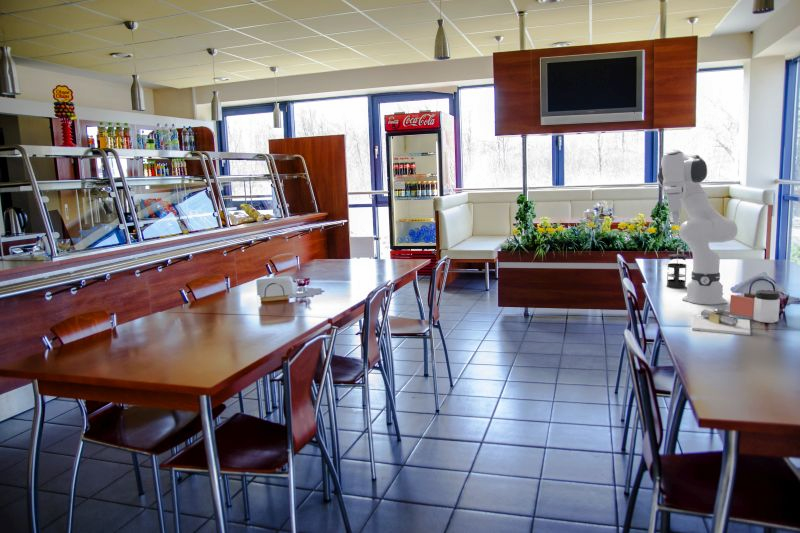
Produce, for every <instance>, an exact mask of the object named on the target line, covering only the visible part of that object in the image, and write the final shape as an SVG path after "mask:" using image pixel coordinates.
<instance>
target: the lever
mask: <svg viewBox="0 0 800 533" xmlns="http://www.w3.org/2000/svg"><path fill="white" fill-rule="evenodd" d="M729 300H730V301H729V302H730V303H729V311H728V310H725V309H723V308H714V309H713V312H714V313H718V314H727V315H729V316H731V317H735V318H740V319H745V320H749V321H750V320H754V319H753V317H754V316H753V315H754V300H755V298H753V297H748V296H747V297H746V296H740V295H735V294H731V295H730V299H729Z"/></svg>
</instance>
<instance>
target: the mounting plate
mask: <svg viewBox="0 0 800 533" xmlns="http://www.w3.org/2000/svg"><path fill="white" fill-rule="evenodd" d="M737 319H738V323H737V325H735V326H733V325H729V324H726V323H721V324H718V323H714V322H711V321H709V319H708V318H705V317H702V316H701V315H694V318H693V323H692V326H691V330H692V331H697V330H700V332H708V331H711V332H710V333H722V334H730V335H731V334H733V335H742V336H751V324H750V319H745V318H737Z"/></svg>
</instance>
